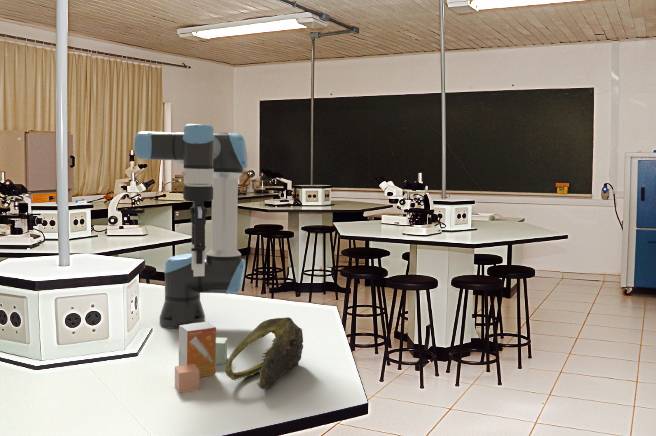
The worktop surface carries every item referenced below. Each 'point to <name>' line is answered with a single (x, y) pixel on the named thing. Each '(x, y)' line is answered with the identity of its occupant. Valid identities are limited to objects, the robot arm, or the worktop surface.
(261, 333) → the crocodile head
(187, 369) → the terracotta cube
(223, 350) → the sage block
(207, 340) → the small box
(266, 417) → the worktop surface
